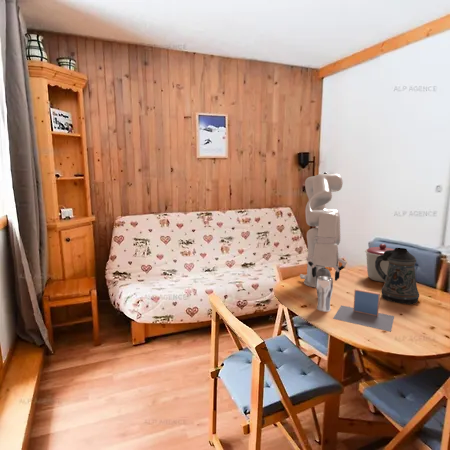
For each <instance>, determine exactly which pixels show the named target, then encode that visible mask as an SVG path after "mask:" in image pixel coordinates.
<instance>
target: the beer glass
mask: <svg viewBox="0 0 450 450" xmlns="http://www.w3.org/2000/svg"><path fill="white" fill-rule="evenodd" d="M333 280H334V279H333V277H332V276H331V277H328V276H319V277H317V288H316V295H317V305H316V309H317V311H319V312H324V313H326V312H331V311H332V310H331V308H332V307H331V299H332V297H333V296H332V295H333V290H334V287H333V286H334V281H333Z"/></svg>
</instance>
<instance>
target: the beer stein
mask: <svg viewBox="0 0 450 450" xmlns="http://www.w3.org/2000/svg"><path fill="white" fill-rule="evenodd" d="M393 249H394V250H387V251H385V252H384V254H383V255H380V256H378V257H377V258H376V261H375V268H376V270H377V272H378V274H379V275H380V276H381V278H382V279H383V280H385V282H383V286H382V287H381V290H380V291H381V292H380V293H381V297H382V298H383V299H384V300H385V301H387V302H391V303H397V304H403V305H409V306H410V305H411V306H413V305H415V304H417V303H418V301H419V298H420V292H419V290H418V285H417V279H416V269H415V265H416V263H417V258H416V257H415V256H414V255H413V254H412V253H410V252H409V251H408V248H405V247H395V248H393ZM381 261H389V266H388V270H387V275H386V274H385V273H384V272H383V271H382V269H381V267H380V263H381Z"/></svg>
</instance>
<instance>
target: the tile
mask: <svg viewBox="0 0 450 450" xmlns="http://www.w3.org/2000/svg"><path fill="white" fill-rule="evenodd" d="M353 297H354V298H353V308H354V309H353V311H355V312H360V313H365V314H370V315H375V316H378V314H379V313H380V312H379V311H380V310H379V309H380V297H381V292H376V291H372V290H371V291H370V290H365V289H359V288H355V289H354V295H353Z"/></svg>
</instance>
